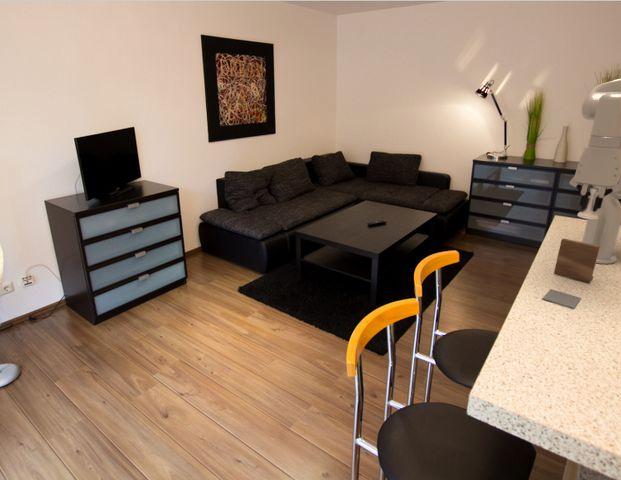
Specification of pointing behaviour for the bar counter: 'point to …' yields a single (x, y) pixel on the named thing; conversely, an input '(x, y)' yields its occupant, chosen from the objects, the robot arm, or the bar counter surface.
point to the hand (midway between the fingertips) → (589, 209)
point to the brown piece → (576, 260)
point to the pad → (562, 299)
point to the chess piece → (590, 206)
